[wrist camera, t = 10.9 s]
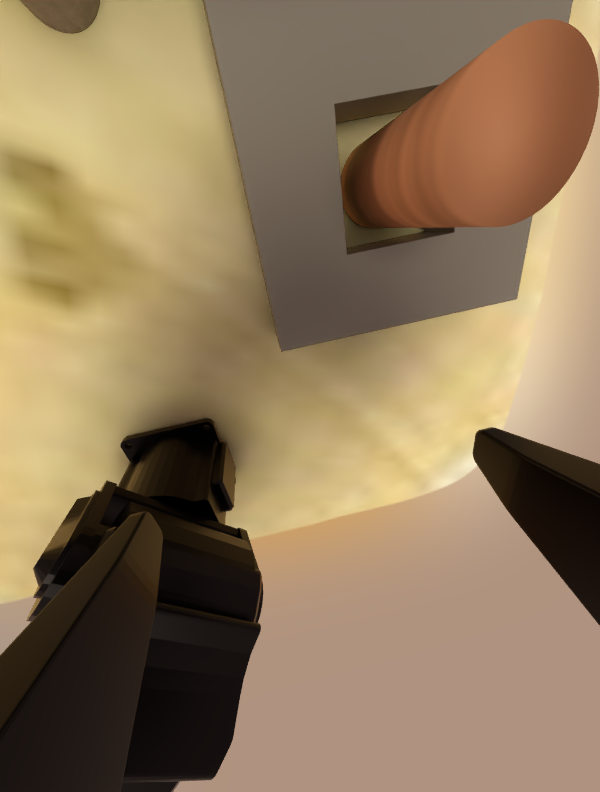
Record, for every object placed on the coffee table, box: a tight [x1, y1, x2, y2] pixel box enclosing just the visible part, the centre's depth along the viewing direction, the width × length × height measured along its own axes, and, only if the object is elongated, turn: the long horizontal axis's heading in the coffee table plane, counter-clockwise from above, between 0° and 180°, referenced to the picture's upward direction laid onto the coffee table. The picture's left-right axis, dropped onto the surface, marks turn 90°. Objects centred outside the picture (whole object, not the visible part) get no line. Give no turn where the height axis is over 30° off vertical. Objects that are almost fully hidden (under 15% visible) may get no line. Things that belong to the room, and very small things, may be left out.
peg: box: [341, 19, 599, 228], centre depth 12 cm, size 4×4×10 cm
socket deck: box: [203, 0, 573, 352], centre depth 13 cm, size 14×22×3 cm, turn 10°
